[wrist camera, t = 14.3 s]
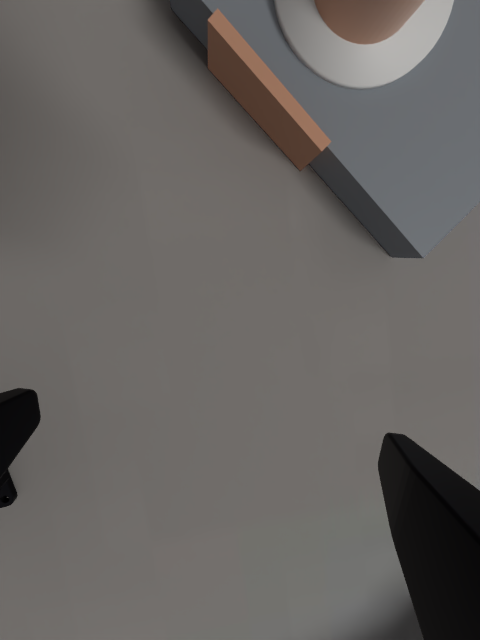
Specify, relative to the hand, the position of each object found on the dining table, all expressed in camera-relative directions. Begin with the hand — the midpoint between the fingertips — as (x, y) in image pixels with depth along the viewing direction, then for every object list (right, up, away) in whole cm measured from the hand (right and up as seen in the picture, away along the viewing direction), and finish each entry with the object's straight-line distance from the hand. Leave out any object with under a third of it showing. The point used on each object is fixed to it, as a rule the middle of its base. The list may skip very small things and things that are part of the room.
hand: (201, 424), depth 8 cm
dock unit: (+7, +16, +9) cm, 20 cm away
